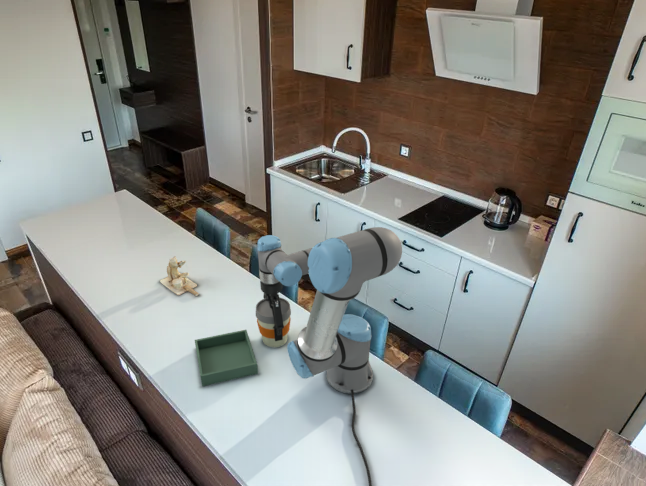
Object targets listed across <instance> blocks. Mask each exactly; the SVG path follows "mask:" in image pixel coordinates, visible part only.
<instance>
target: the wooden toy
mask: <svg viewBox="0 0 646 486" xmlns="http://www.w3.org/2000/svg"><path fill="white" fill-rule="evenodd" d="M186 263H187V261H186V260H180V261H179V262H178V259H177V256H175V255H174V256H172V257H170V258H169V261H168V264H167V266H166V273H167V276H166V277H164V278H162V279H160V280H159V283H161V284H162V285H163V286H164V287H166V288H168V289H169V290H170V292H172V293H174V294H175V295H176V296H181V295H183V294H184V293H186V292H188V293H191V294H192V295H193V296H194V297H198V296H199V295H200V293H199V292H198V291H197V290H195V289H194V288H197V287H198V285H197V283H196V282H194V281H192V280H191V279H190V278H188V277H189V275H190V273H189V272H182V273H181V272H179V268H180V269H181V268H182V267H183V266H184V265H185V264H186Z"/></svg>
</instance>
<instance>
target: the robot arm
mask: <svg viewBox="0 0 646 486" xmlns="http://www.w3.org/2000/svg"><path fill="white" fill-rule="evenodd" d="M256 251H257V258H258V259H257V260H258V274H259V283H260V284H259V285H260V290H261V292H262V293H263V298H262V299H265V298H266V301H267V300H268V301H269V306H270V308H271V309H272V314H273V317H274V324H275V326H274V327H273V329H274V335H275V341H280V340H283V334H282V329H283V328H284V325H283V319H282V312H281V302H280V300H279V297H280V292H282V291H283V288H284V287H293V286H295V285H296V284H297V283H299V282H300V281H301V279H302V277H303V276H306V275H308V277H309V279H310V282H311V284H312V286H313V287H314V289H315V290H316V292H315V295H314V299H313V302H312V306H311V310H310V313H309V317H308V321H307V324H306V326H304V327H303V328H302V329H301V330H300V332H299V333H298V336H297V339H295V340H291V341H290V342H288V343H287V345H286V346H287V347H286V349H287V354H288V357H289V360H290V362H291V365H292V367H293V369H294V370H295V372H296V373H297V375H298V376H299V377H300V378H302V379H309V378H313V377H314V376H316V375H318V374H322V373H323V372H326V381H327V383H328V384H329V386H330V387H331V388H332V389H334V390H336V391H337V392H340V393H343V394H348V395H351V403H352V417H351V432H352V435H353V438H354V441H355V442H356V445H357V448H358V449H359V453H360V455H361V458H362V461H363V464H364V467H365V471H366V475H367V481H368V486H373V483H372V476H371V472H370V467H369V464H368V461H367V458H366V456H365V452H364V450H363V447H362V445H361V443H360V441H359V439H358V437H357V433H356V430H355V422H356V412H357V410H356V409H357V408H356V402H355V395H356V394H360V393H362V392H365V391H366V390H368V389H369V388H370V387H371V385H372V383H373V381H374V378H373V377H374V372H373V369H372V366H371V363H370V349H371V341H372V327H371V324H370V323H369V322H368V321H367V320H366V319H365V318H364V317H362V316H359V315H356V314H352V313H346V311H347V308H348V306H349V303H350V301H351V300H353V299H355V298H357V296H358V295H360V292H361V290H362V287H363V285H364V283H365V282H367V281H370V280H373V279H374V280H375V279H376V278H379V277H382V276H385V275H386V274H388V273H390V272H392V271H393V270H395V268H396V267H397V266H398V264H399V263H400V262H401V258H402V256H403V244H402V242H401V239H400V238H399V236H398V235H397V234H396V233H395V232H394V231H393V230H391V229H389V228H386V227H383V226H382V227H381V226H373V227H368V228H365V229H362V230H358V231H354V232H352V233H348V234H344V235H341V236H338V237H330V238H327V239H325V240H323V241H321V242H318V243H316V244H315V245H314V246H313V247H310V248H307V249H303V250H300V251H296V252H293V253H292V252H291V253H289V254H287V253H286V252H284V251H283V249H282V241H281V238H280V237H278V236H276V235H274V234H273V235H272V234H268V235H263V236H261V237H259V238H258V240H257V250H256ZM271 304H272V305H273V306H272V305H271Z"/></svg>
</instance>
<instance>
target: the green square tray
mask: <svg viewBox="0 0 646 486" xmlns="http://www.w3.org/2000/svg"><path fill="white" fill-rule="evenodd" d="M251 343H252V342H251V339H250V336H249V333H248V330H247V329H243V330H242V329H241V330H237V331H232V332H227V333H223V334H217V335H211V336H207V337H201V338H198V339H194V345H195V352H196V358H197V364H198V371H199V377H200V382H201V387H206V386H211V385H214V384H220V383H223V382H228V381H232V380H237V379H242V378H246V377H250V376H255V375H258V374H259V370H258V369H259V368H258V362H257V359H256V355H255V352H254V349H253V346H252V344H251Z"/></svg>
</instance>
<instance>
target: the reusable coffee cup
mask: <svg viewBox="0 0 646 486" xmlns="http://www.w3.org/2000/svg"><path fill="white" fill-rule="evenodd" d="M279 300H280V302H281V312H282V319H283V325H284V328H283V329H282V334H283V340H280V341H275V335H274V329H273V327H274V326H275V324H274V317H273V314H272V309H271V308H270V306H269V301H268V300H267V301H266V298H265V299H264V298H262V299H261V300H259V301H258V302H257V303H256V304H255V305H256V306H255V317H256V323H257V327H258V331H259V333H260V335H261V338H262V339H261V340H262V342H263V344H264V345H265V346H267V347H269V348H279V347H282V346H284V345H285V344H286V343H287V341H288V336H289V335H288V334H289V331H290V327H291V319H292V318H291V315H292V310H291V304H290V302H289V301H288V300H287V299H286V298H283V297H280V296H279ZM271 305H272V304H271ZM272 306H273V305H272Z"/></svg>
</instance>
